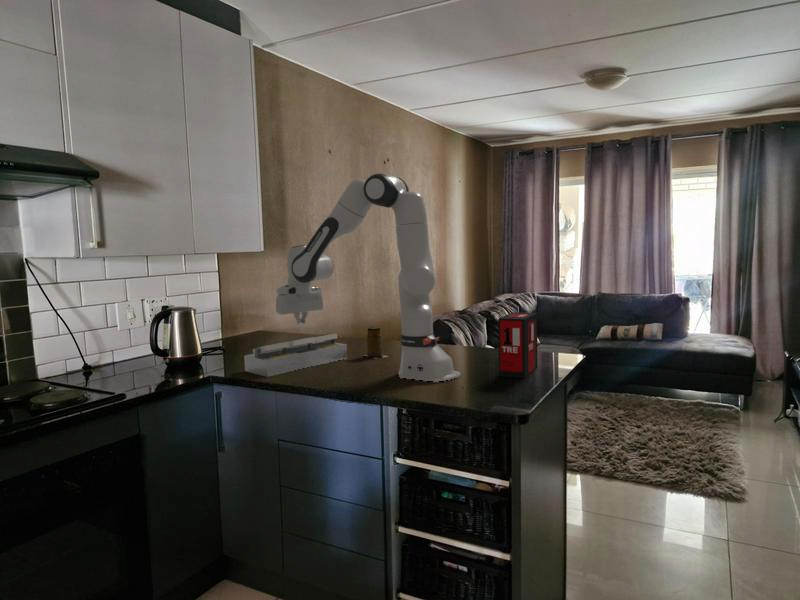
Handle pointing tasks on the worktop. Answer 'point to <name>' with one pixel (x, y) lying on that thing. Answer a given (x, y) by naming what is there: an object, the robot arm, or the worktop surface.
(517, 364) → the cleaning product box
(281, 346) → the rocker
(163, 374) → the worktop surface
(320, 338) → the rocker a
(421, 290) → the robot arm
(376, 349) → the condiment
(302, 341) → the rocker
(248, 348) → the worktop surface
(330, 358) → the switch unit
